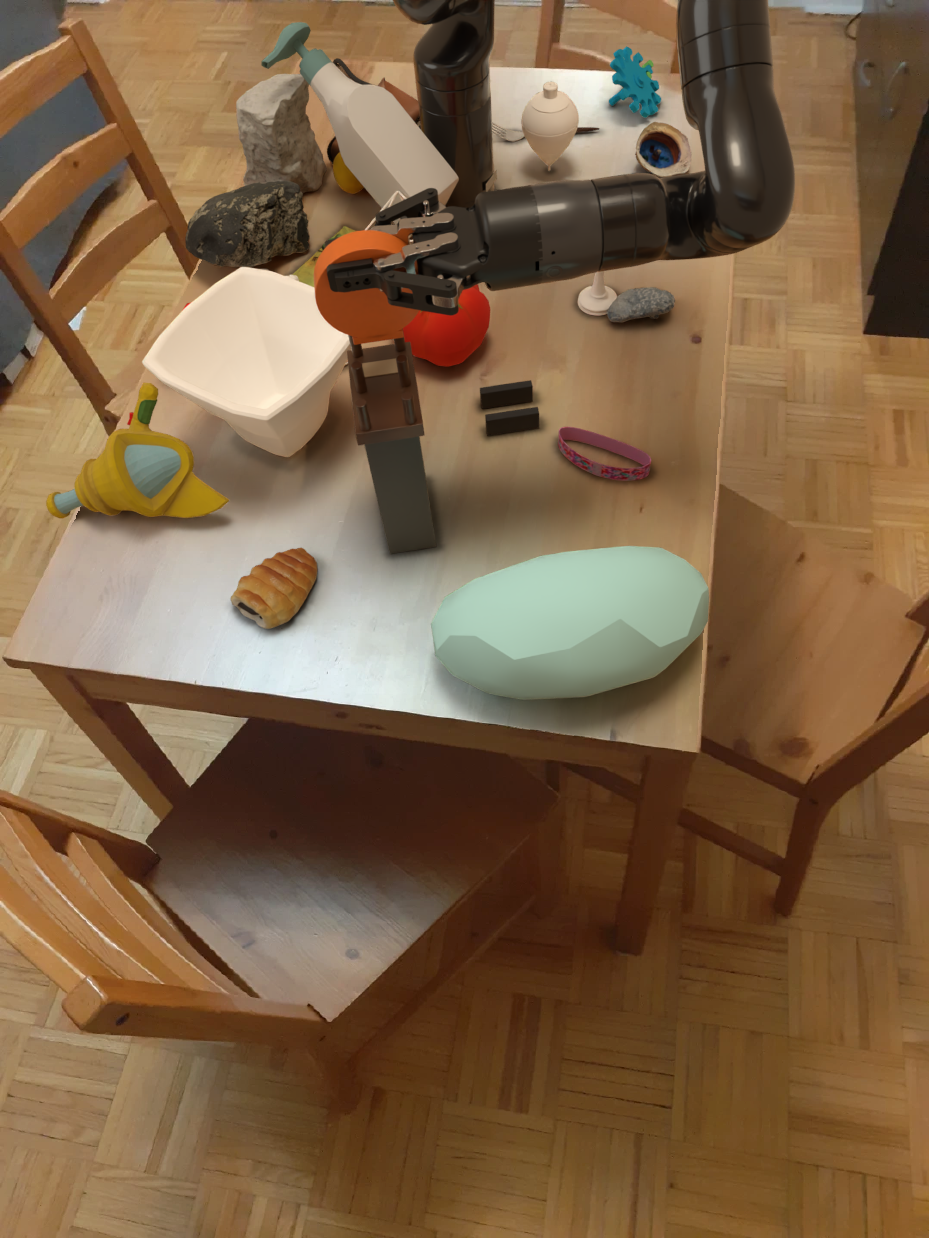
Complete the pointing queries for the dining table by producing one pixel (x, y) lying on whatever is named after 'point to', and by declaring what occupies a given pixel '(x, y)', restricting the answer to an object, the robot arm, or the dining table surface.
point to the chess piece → (596, 297)
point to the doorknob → (345, 176)
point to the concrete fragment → (249, 225)
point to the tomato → (450, 330)
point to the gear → (635, 82)
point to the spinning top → (549, 123)
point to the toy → (140, 474)
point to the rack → (384, 392)
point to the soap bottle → (369, 127)
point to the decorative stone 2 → (572, 622)
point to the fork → (518, 135)
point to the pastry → (276, 587)
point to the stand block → (402, 493)
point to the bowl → (254, 358)
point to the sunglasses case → (402, 97)
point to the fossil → (640, 304)
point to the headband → (607, 444)
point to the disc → (367, 308)
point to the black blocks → (509, 419)
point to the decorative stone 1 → (279, 133)
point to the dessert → (663, 150)
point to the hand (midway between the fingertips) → (328, 266)
